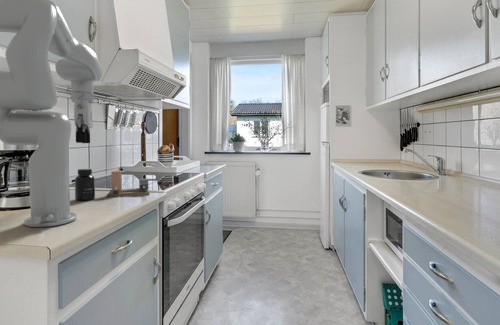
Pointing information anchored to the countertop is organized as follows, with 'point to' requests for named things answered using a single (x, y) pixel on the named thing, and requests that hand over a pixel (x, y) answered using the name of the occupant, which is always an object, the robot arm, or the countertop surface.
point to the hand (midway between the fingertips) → (83, 142)
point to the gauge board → (132, 190)
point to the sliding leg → (116, 180)
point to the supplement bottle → (84, 185)
